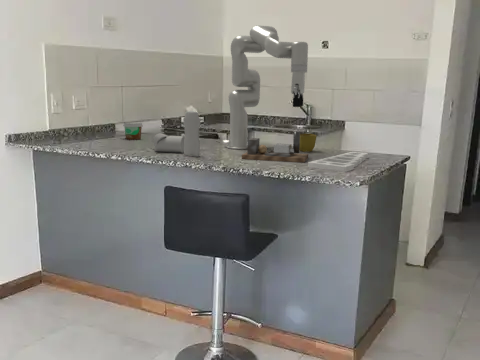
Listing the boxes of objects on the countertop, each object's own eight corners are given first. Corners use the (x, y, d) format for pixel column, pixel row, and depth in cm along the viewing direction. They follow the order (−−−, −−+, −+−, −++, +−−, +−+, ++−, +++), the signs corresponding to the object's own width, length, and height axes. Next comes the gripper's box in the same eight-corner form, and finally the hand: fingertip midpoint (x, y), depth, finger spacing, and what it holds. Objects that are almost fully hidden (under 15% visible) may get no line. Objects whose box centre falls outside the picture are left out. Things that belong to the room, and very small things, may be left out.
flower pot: (300, 152, 282) (301, 135, 281) (294, 150, 291) (295, 133, 289) (316, 152, 285) (317, 135, 283) (309, 150, 293) (310, 133, 291)
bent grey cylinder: (141, 150, 275) (179, 151, 270) (143, 129, 275) (180, 131, 271) (154, 153, 292) (190, 154, 288) (156, 133, 292) (191, 135, 288)
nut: (256, 154, 261) (257, 145, 260) (258, 153, 265) (259, 144, 264) (265, 154, 259) (266, 145, 259) (267, 153, 264) (267, 144, 263)
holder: (351, 156, 274) (351, 151, 273) (385, 160, 263) (385, 155, 263) (307, 168, 238) (307, 162, 238) (344, 173, 228) (345, 166, 227)
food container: (119, 139, 326) (119, 123, 324) (124, 138, 332) (124, 122, 330) (138, 140, 323) (137, 123, 321) (142, 139, 329) (142, 123, 327)
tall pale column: (181, 155, 268) (180, 110, 264) (186, 154, 271) (186, 110, 267) (197, 157, 262) (197, 111, 258) (202, 156, 265) (202, 111, 261)
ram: (273, 152, 257) (274, 131, 255) (277, 150, 264) (277, 130, 262) (297, 153, 254) (298, 132, 252) (300, 151, 261) (301, 131, 259)
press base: (241, 159, 258) (241, 140, 256) (248, 155, 271) (249, 137, 270) (304, 162, 250) (304, 143, 249) (308, 158, 264) (309, 139, 262)
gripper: (294, 69, 259) (293, 105, 262) (287, 68, 243) (286, 107, 246) (309, 69, 257) (308, 105, 260) (304, 68, 241) (303, 107, 244)
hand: (298, 106), depth 253 cm, fingers open, 9 cm apart
